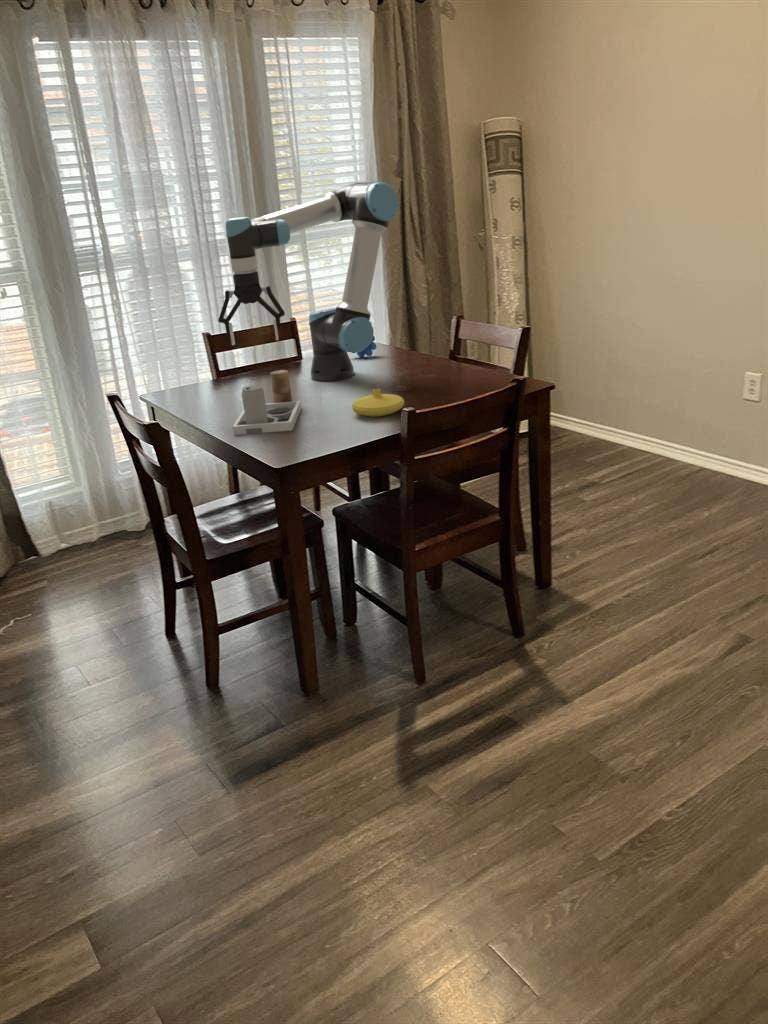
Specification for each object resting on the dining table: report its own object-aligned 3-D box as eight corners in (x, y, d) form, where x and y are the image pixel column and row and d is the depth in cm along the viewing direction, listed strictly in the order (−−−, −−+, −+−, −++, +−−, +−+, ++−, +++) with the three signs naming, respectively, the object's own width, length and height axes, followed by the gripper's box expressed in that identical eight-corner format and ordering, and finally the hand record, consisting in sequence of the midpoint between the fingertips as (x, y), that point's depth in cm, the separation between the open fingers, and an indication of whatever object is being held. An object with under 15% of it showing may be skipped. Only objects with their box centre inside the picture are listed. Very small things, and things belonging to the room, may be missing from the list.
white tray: (301, 408, 268) (300, 400, 267) (292, 430, 247) (291, 422, 246) (247, 413, 269) (246, 405, 268) (233, 435, 248) (232, 426, 247)
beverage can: (247, 425, 256) (241, 385, 252) (269, 422, 257) (263, 383, 252) (246, 431, 250) (239, 391, 246) (268, 429, 251) (262, 388, 246)
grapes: (345, 361, 322) (341, 329, 317) (347, 356, 328) (344, 325, 324) (376, 359, 321) (373, 326, 316) (378, 354, 327) (375, 323, 322)
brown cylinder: (293, 403, 274) (289, 369, 270) (291, 408, 269) (286, 373, 265) (276, 404, 274) (271, 371, 270) (273, 409, 269) (268, 375, 265)
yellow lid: (354, 407, 264) (351, 385, 261) (405, 403, 263) (403, 380, 260) (350, 423, 249) (348, 399, 246) (405, 418, 248) (403, 395, 245)
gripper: (286, 266, 264) (295, 335, 272) (204, 274, 262) (216, 343, 270) (286, 269, 257) (295, 340, 265) (202, 277, 255) (214, 348, 264)
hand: (255, 342), depth 268 cm, fingers open, 13 cm apart
